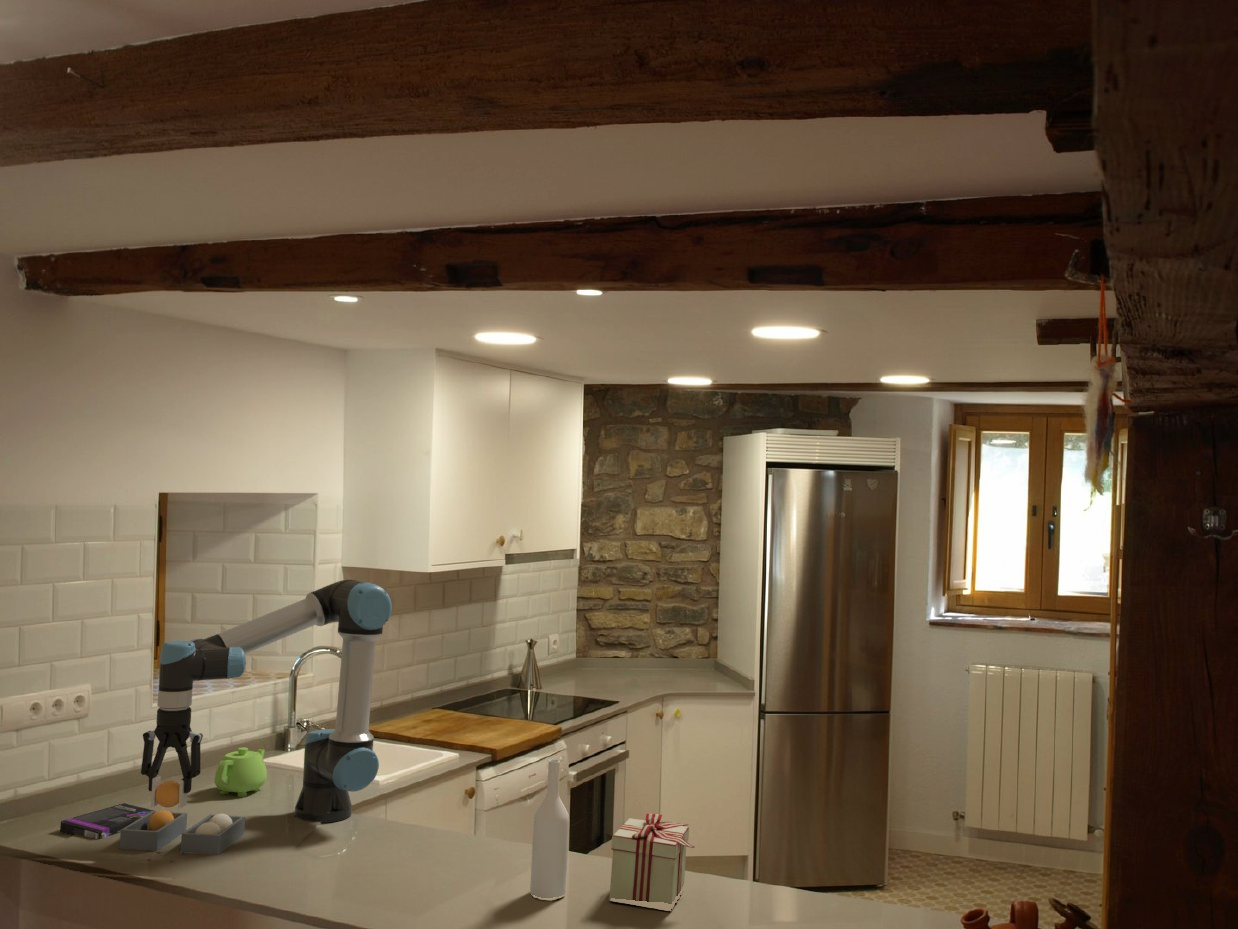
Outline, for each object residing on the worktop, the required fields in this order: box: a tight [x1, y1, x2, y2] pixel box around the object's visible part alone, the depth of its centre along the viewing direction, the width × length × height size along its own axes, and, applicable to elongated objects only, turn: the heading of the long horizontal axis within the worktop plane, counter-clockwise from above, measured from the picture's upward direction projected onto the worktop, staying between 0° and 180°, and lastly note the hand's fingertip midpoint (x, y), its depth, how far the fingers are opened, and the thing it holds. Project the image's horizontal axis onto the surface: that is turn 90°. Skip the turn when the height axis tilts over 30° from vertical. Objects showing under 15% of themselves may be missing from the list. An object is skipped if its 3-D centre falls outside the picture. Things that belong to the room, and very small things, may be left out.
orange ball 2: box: [148, 809, 174, 831], centre depth 262 cm, size 6×6×6 cm
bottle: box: [529, 758, 570, 898], centre depth 237 cm, size 8×8×30 cm
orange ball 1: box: [156, 780, 180, 808], centre depth 247 cm, size 6×6×6 cm
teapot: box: [214, 746, 268, 798], centre depth 304 cm, size 20×13×13 cm
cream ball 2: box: [209, 813, 233, 832], centre depth 261 cm, size 6×6×6 cm
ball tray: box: [119, 810, 246, 863], centre depth 255 cm, size 26×22×5 cm
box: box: [59, 802, 155, 840], centre depth 268 cm, size 14×4×20 cm
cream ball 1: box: [195, 822, 221, 835], centre depth 254 cm, size 6×6×6 cm
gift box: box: [609, 813, 696, 904], centre depth 238 cm, size 17×18×17 cm
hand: (168, 805), depth 247 cm, fingers closed on orange ball 1, 6 cm apart
